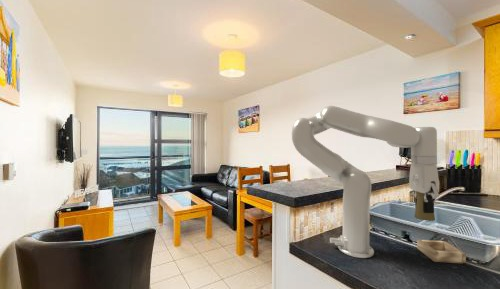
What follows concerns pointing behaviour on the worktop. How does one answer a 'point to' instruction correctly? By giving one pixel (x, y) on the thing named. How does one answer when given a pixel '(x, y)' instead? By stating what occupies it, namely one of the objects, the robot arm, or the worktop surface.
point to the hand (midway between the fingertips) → (424, 210)
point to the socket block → (441, 251)
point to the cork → (419, 208)
